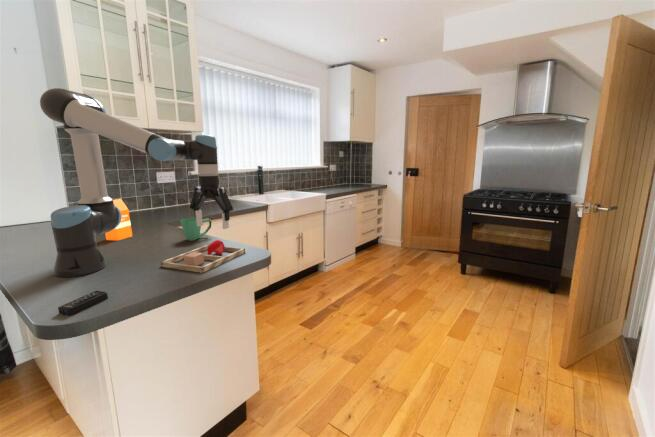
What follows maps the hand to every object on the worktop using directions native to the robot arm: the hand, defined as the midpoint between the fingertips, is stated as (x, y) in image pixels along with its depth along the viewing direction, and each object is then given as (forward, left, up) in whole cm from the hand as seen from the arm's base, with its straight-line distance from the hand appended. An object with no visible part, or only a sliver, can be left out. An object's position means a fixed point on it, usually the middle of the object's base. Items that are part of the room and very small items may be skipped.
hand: (212, 227), depth 131 cm
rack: (-6, 0, -12) cm, 13 cm away
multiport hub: (-49, +3, -13) cm, 51 cm away
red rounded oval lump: (0, 0, -12) cm, 12 cm away
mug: (+19, +28, -12) cm, 36 cm away
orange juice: (+7, +69, -12) cm, 70 cm away
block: (-12, 0, -12) cm, 17 cm away
